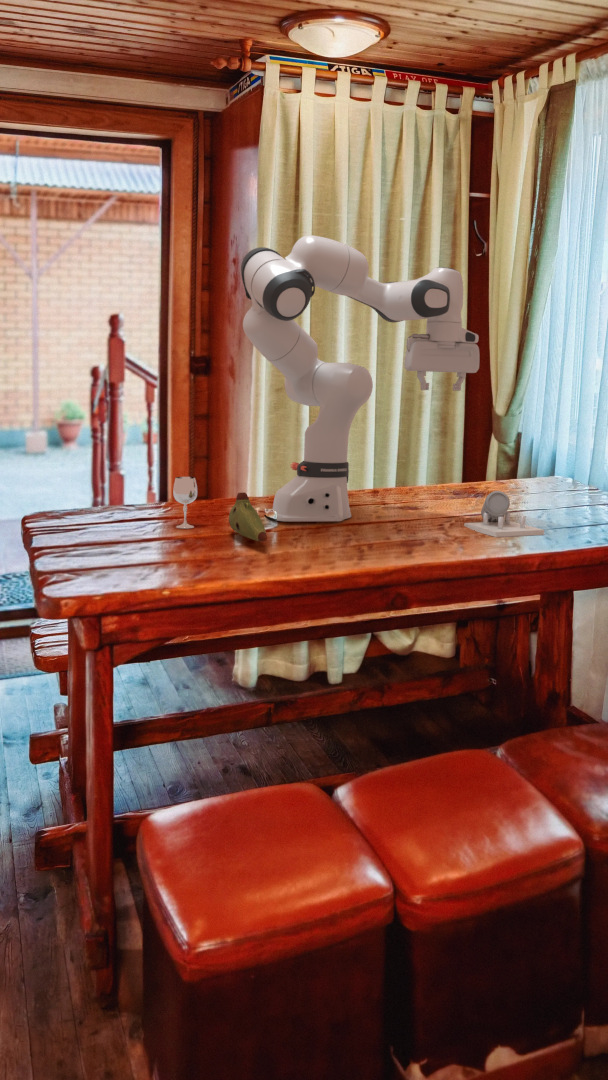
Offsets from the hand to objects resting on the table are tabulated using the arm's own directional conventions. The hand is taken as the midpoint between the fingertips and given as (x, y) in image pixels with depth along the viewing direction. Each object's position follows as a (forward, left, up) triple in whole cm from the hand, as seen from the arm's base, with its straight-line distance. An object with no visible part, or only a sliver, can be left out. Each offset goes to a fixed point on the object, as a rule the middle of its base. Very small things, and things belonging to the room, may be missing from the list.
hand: (440, 390), depth 230 cm
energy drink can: (+8, -17, -27) cm, 33 cm away
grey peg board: (+10, -17, -34) cm, 39 cm away
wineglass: (-65, +7, -34) cm, 74 cm away
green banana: (-55, -10, -34) cm, 65 cm away
